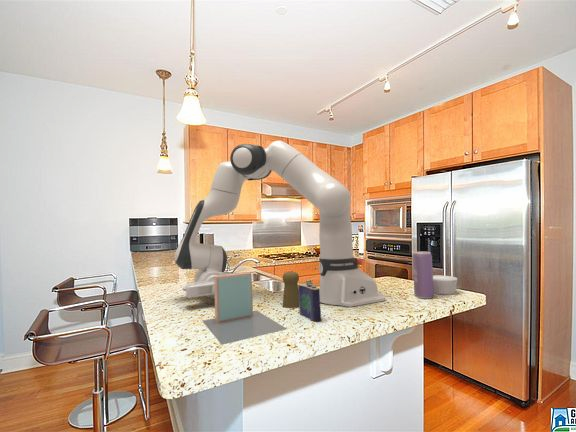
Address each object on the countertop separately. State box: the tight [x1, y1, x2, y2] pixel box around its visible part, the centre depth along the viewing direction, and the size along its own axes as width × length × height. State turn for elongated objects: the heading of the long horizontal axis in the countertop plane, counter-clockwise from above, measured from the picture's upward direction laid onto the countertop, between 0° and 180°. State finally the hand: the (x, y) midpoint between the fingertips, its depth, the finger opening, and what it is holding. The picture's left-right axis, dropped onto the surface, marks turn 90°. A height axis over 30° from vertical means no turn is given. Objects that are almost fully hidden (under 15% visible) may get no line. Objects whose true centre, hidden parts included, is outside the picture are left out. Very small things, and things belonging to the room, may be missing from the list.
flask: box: [298, 278, 322, 323], centre depth 76 cm, size 9×3×11 cm, turn 26°
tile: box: [214, 271, 254, 323], centre depth 77 cm, size 10×2×12 cm, turn 119°
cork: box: [282, 271, 300, 309], centre depth 88 cm, size 6×6×11 cm
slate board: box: [202, 310, 288, 346], centre depth 72 cm, size 16×19×1 cm
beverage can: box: [411, 251, 435, 300], centre depth 95 cm, size 6×6×15 cm
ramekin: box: [433, 274, 459, 296], centre depth 101 cm, size 11×11×5 cm
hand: (223, 290), depth 87 cm, fingers closed
